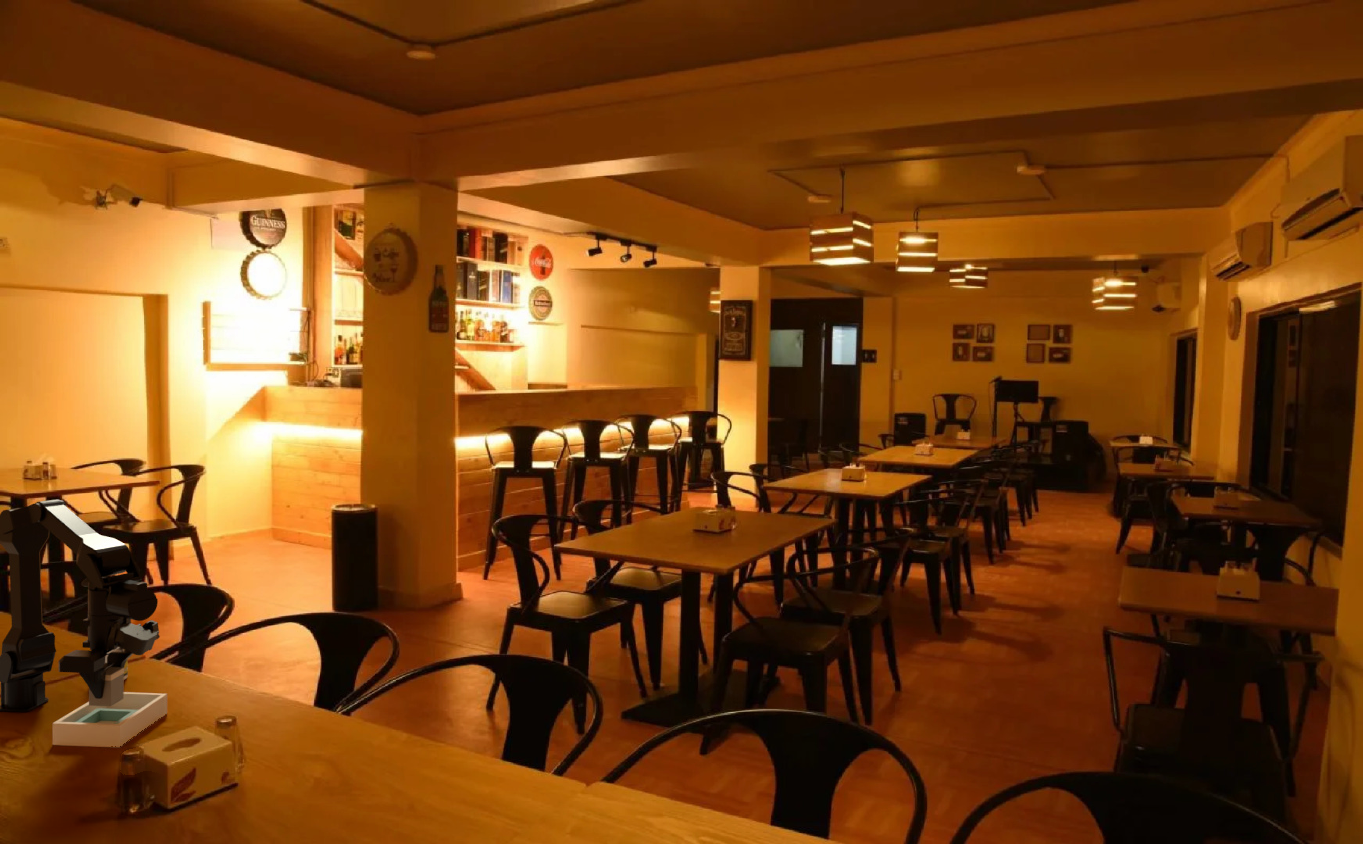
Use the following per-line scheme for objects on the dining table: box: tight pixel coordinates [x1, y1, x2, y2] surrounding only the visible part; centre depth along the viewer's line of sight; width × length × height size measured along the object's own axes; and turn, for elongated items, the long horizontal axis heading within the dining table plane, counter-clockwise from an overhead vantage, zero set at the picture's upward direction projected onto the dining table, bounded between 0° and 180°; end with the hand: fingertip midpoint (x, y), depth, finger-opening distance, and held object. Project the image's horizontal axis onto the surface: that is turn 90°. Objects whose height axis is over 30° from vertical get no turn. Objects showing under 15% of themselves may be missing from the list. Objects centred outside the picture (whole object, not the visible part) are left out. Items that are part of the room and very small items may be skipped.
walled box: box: [52, 691, 168, 748], centre depth 176 cm, size 12×16×4 cm
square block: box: [88, 667, 125, 706], centre depth 174 cm, size 4×4×6 cm
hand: (105, 694), depth 174 cm, fingers closed on square block, 4 cm apart
